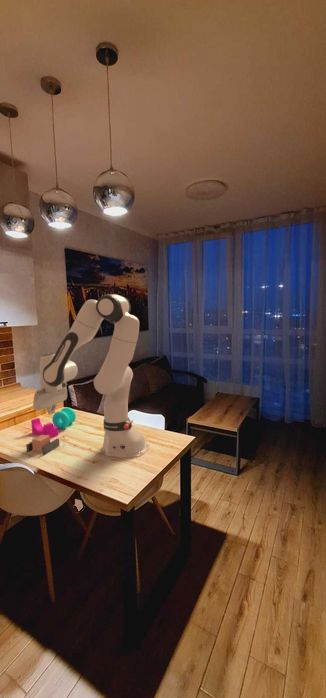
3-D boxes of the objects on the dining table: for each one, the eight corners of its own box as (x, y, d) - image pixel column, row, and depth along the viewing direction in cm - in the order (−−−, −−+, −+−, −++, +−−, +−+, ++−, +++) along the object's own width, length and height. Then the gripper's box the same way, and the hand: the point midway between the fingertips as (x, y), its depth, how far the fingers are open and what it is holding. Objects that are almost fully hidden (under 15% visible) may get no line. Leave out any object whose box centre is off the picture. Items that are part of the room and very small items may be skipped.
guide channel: (59, 445, 143) (59, 438, 142) (44, 455, 133) (44, 447, 133) (42, 442, 146) (41, 436, 146) (26, 451, 137) (26, 444, 136)
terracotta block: (50, 447, 141) (49, 435, 140) (41, 453, 135) (40, 440, 134) (42, 446, 142) (41, 434, 142) (33, 451, 137) (32, 439, 136)
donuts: (51, 429, 164) (50, 411, 163) (61, 422, 174) (60, 406, 173) (68, 430, 162) (66, 412, 161) (77, 423, 172) (76, 407, 171)
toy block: (58, 435, 155) (57, 422, 154) (47, 439, 150) (46, 425, 149) (42, 429, 164) (41, 416, 163) (32, 433, 159) (31, 419, 159)
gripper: (39, 392, 133) (41, 421, 134) (68, 382, 152) (69, 408, 153) (28, 390, 135) (30, 420, 136) (58, 381, 154) (59, 407, 156)
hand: (51, 413), depth 145 cm, fingers closed
